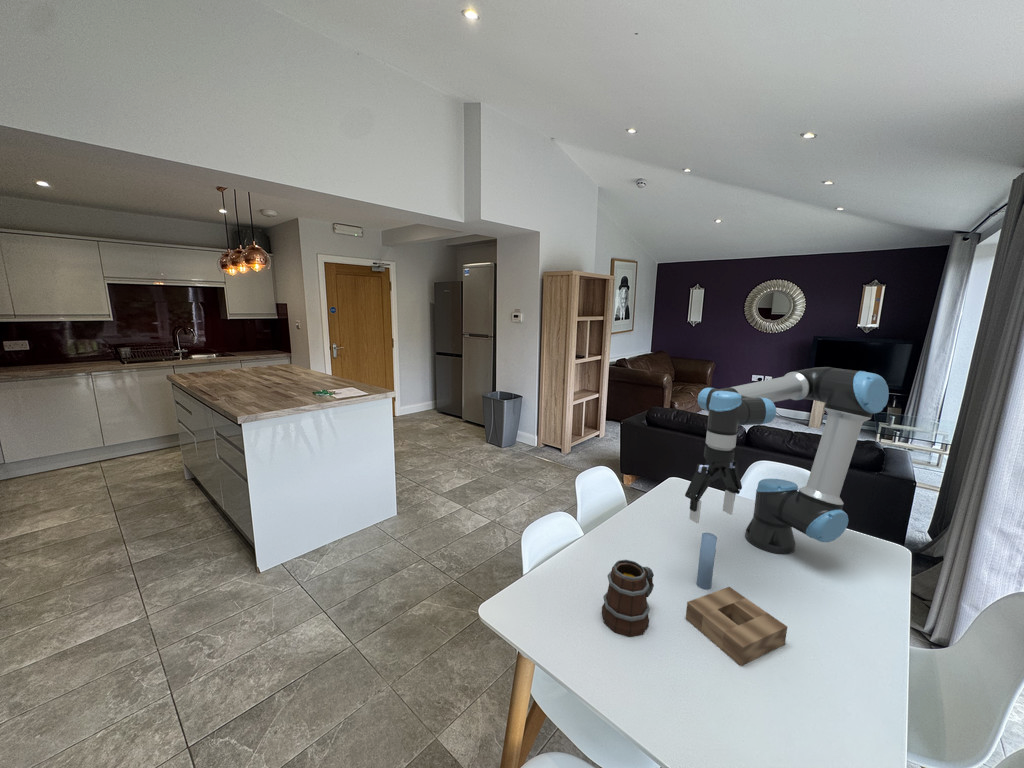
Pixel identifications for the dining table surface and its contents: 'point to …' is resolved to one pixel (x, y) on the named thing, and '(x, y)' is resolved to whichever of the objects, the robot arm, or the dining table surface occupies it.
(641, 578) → the mug
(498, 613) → the dining table surface
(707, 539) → the peg
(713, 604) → the socket block
